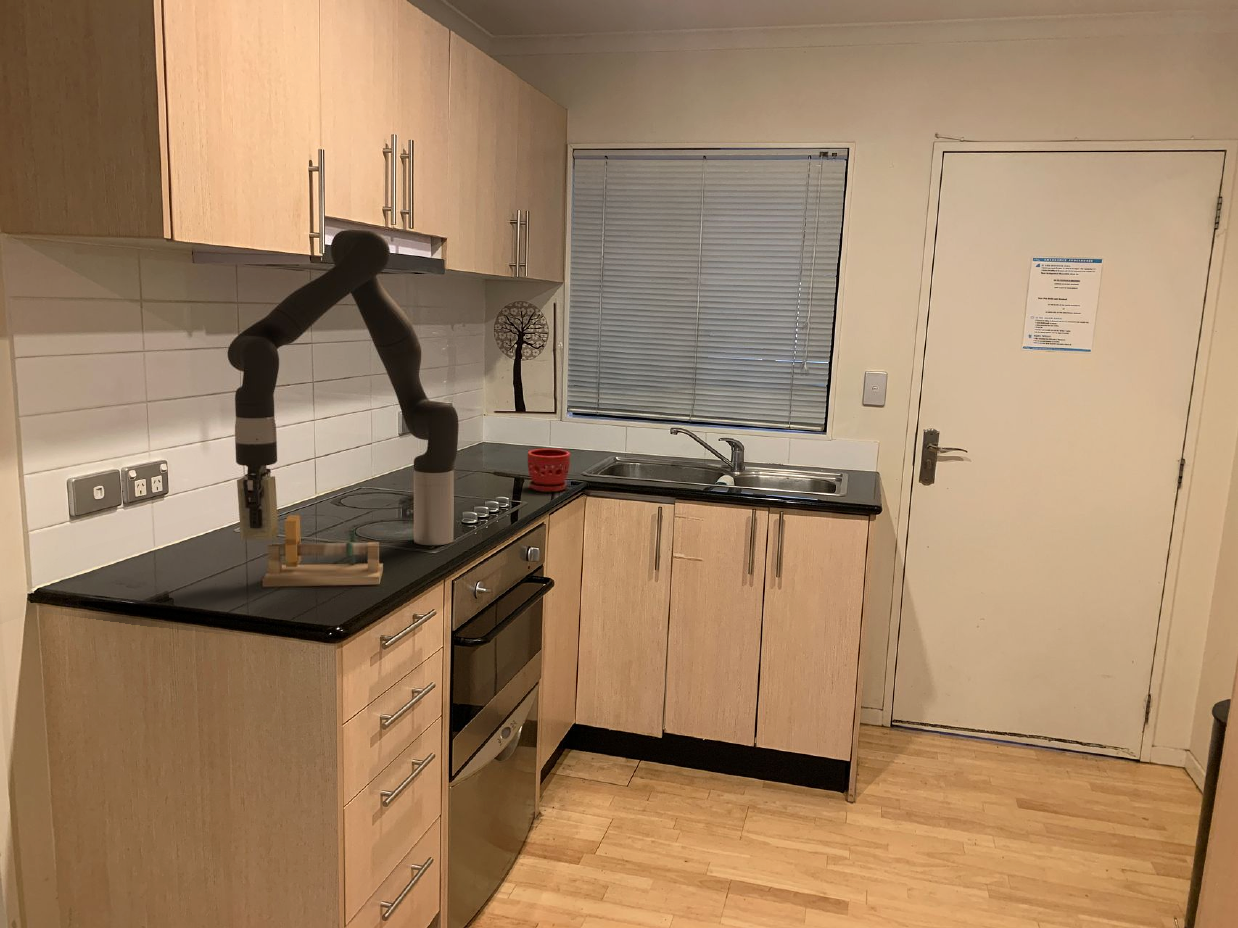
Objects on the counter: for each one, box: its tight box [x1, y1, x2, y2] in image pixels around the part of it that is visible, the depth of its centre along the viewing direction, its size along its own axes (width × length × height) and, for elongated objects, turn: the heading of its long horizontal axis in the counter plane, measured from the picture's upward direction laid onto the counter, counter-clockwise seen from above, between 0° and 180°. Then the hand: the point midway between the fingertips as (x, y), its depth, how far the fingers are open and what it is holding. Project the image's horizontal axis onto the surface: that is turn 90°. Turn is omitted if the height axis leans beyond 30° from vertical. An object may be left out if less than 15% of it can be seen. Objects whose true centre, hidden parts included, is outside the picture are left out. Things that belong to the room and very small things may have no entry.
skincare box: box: [236, 475, 280, 541], centre depth 179 cm, size 6×4×12 cm
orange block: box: [284, 514, 302, 567], centre depth 181 cm, size 6×2×9 cm, turn 10°
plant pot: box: [527, 448, 571, 493], centre depth 282 cm, size 13×13×12 cm
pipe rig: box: [262, 528, 384, 588], centre depth 183 cm, size 10×22×9 cm, turn 100°
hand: (259, 524), depth 179 cm, fingers closed on skincare box, 4 cm apart
